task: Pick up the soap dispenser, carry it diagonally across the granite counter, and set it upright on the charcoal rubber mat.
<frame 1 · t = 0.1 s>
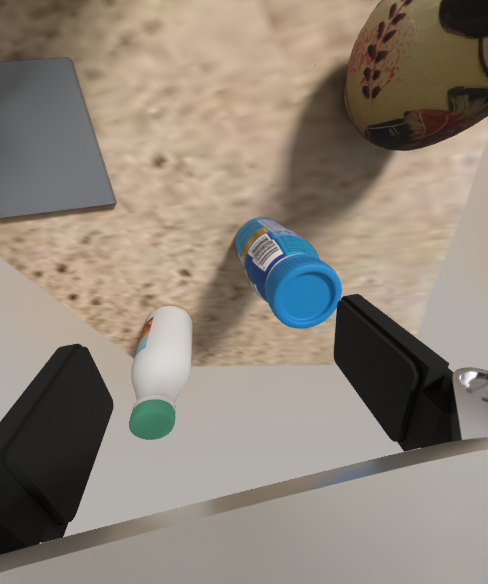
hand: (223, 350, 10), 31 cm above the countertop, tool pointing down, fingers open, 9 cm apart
ceramic jug: (372, 85, 34), on the countertop
beverage bottle: (259, 242, 41), on the countertop
milk bottle: (170, 323, 44), on the countertop
charcoal mat: (32, 145, 30), on the countertop
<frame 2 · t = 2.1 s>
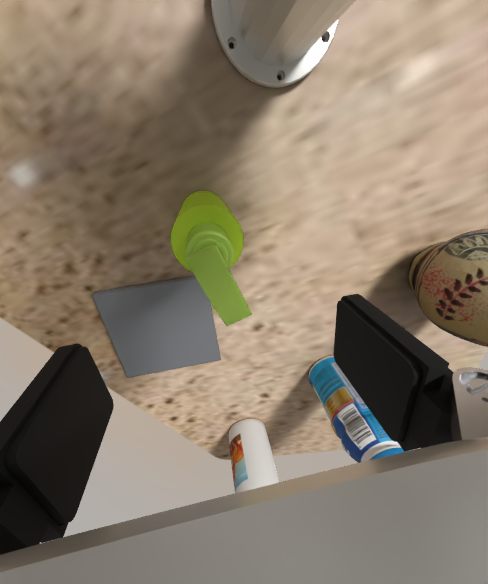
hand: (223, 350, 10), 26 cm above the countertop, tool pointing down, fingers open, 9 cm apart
ceramic jug: (431, 264, 41), on the countertop
soap dispenser: (206, 218, 32), on the countertop
beverage bottle: (327, 370, 48), on the countertop
milk bottle: (246, 428, 52), on the countertop
charcoal mat: (164, 327, 38), on the countertop
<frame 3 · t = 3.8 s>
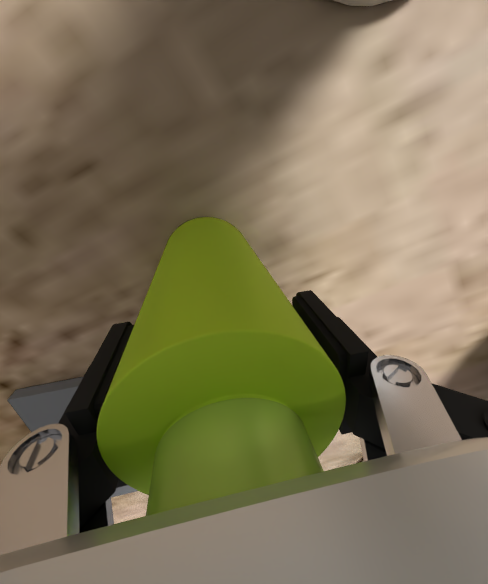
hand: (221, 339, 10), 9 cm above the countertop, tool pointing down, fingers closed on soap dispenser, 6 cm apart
soap dispenser: (211, 265, 18), on the countertop, touching gripper
charcoal mat: (142, 430, 24), on the countertop
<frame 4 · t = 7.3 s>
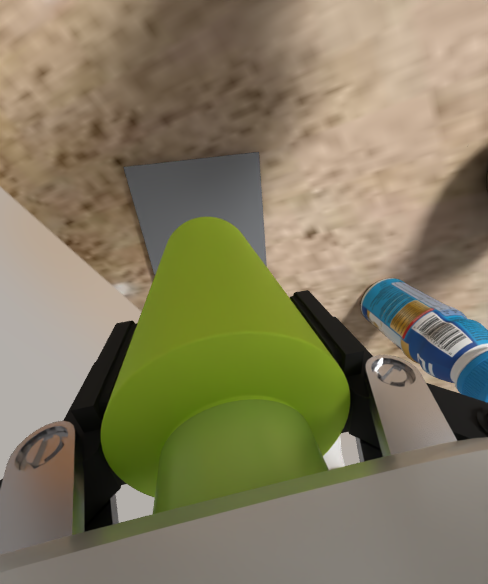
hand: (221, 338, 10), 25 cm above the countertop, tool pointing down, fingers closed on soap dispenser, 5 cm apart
soap dispenser: (211, 265, 18), point 16 cm above the countertop, touching gripper
beverage bottle: (381, 298, 42), on the countertop
milk bottle: (285, 371, 46), on the countertop
charcoal mat: (204, 225, 32), on the countertop
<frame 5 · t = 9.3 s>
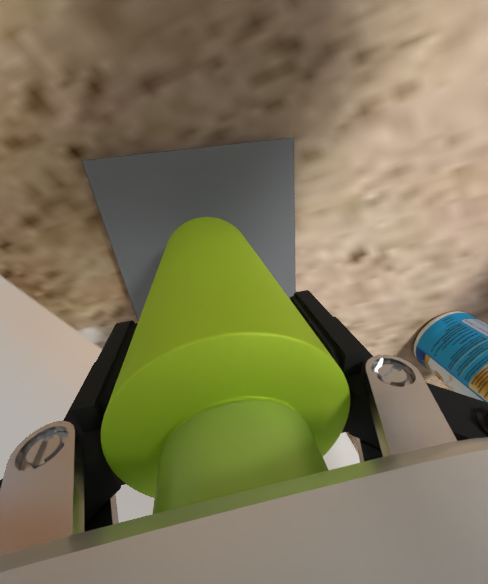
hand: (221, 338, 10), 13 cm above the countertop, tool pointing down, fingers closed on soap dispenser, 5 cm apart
soap dispenser: (211, 265, 18), point 5 cm above the countertop, touching gripper
beverage bottle: (439, 336, 32), on the countertop
milk bottle: (311, 425, 36), on the countertop
charcoal mat: (209, 246, 22), on the countertop
when the fingers open (11 cm above the countertop, at t = 10.8 s): soap dispenser drops 1 cm, resting on charcoal mat.
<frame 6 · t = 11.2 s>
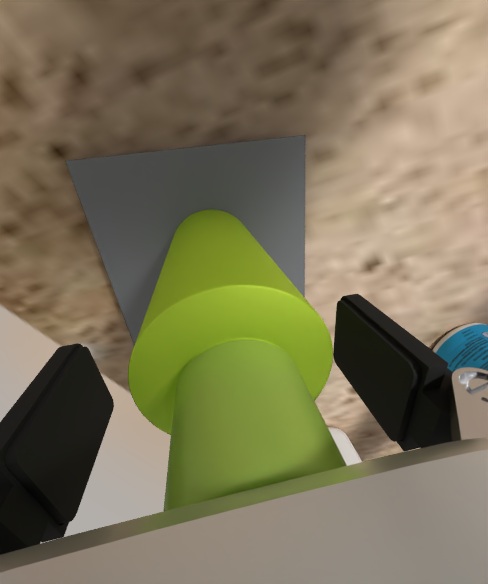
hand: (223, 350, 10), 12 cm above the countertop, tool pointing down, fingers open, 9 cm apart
soap dispenser: (215, 255, 19), point 1 cm above the countertop, touching charcoal mat
beverage bottle: (456, 348, 30), on the countertop
milk bottle: (318, 442, 34), on the countertop
charcoal mat: (209, 256, 20), on the countertop
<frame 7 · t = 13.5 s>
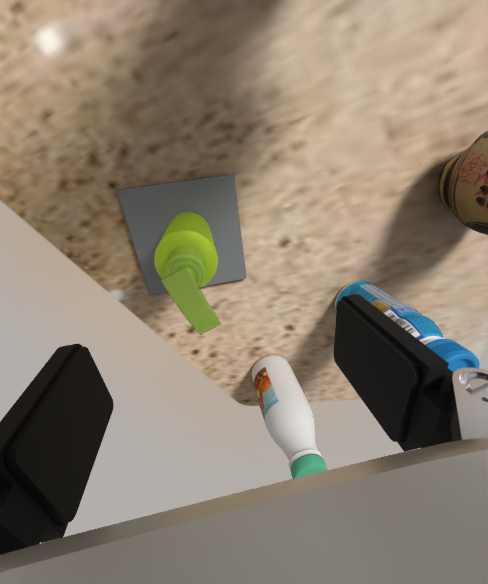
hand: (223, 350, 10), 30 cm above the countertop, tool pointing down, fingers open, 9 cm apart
ceramic jug: (461, 174, 40), on the countertop
soap dispenser: (191, 236, 36), point 1 cm above the countertop, touching charcoal mat
beverage bottle: (353, 299, 47), on the countertop
milk bottle: (269, 368, 50), on the countertop
charcoal mat: (188, 237, 37), on the countertop
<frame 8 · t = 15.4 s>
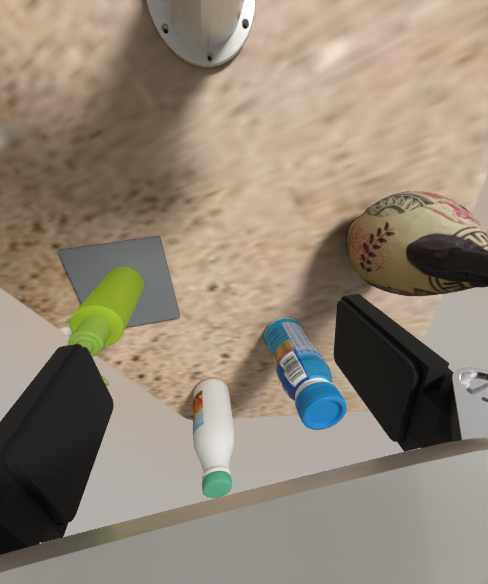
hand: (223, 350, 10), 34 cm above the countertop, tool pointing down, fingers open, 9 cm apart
ceramic jug: (367, 231, 46), on the countertop
soap dispenser: (127, 285, 42), point 1 cm above the countertop, touching charcoal mat
beverage bottle: (282, 332, 53), on the countertop
milk bottle: (211, 389, 57), on the countertop
charcoal mat: (126, 285, 43), on the countertop
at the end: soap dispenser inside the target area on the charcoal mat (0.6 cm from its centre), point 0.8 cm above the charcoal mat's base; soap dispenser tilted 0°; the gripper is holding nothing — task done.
